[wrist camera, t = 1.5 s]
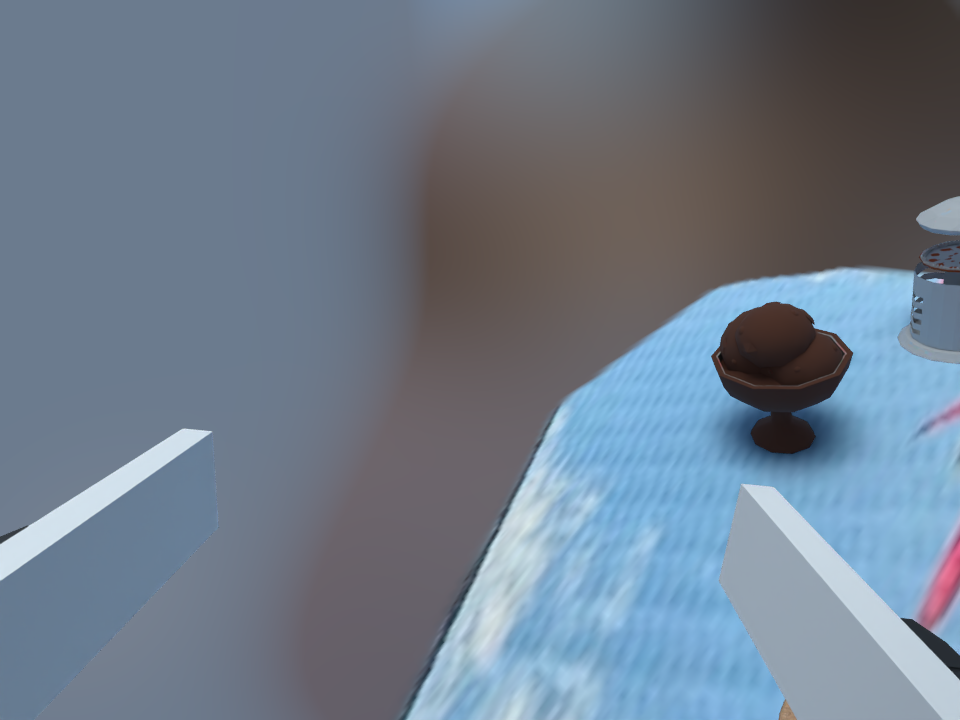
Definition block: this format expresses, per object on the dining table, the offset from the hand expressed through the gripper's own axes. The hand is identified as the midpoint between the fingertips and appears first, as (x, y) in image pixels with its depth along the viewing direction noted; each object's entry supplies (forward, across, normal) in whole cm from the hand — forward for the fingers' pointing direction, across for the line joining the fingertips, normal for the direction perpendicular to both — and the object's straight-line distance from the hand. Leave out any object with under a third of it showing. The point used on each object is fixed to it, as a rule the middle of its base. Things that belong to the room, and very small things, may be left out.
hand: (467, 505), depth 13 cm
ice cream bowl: (+38, +29, -12) cm, 49 cm away
